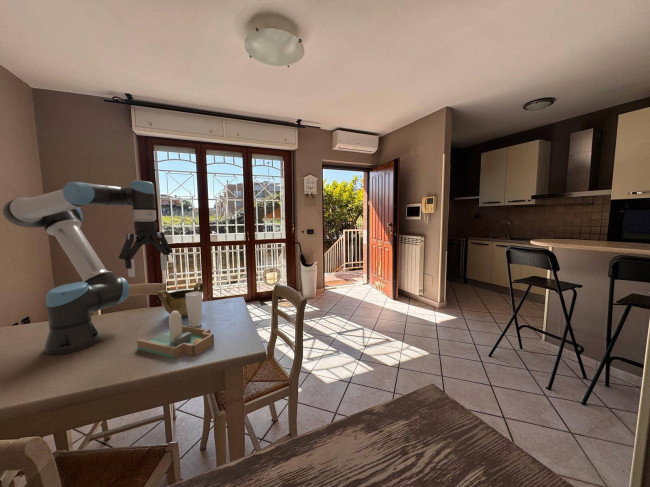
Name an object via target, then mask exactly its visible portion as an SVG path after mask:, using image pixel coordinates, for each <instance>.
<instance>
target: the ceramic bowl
mask: <svg viewBox="0 0 650 487" xmlns="http://www.w3.org/2000/svg"><path fill="white" fill-rule="evenodd" d="M205 287H206V286H205V283H204V282H200V281H198V282H196V283H195V285H194V286H193V289H181V290H175V291H171V292H170V291H166V290H163V289H162V290H159V291H158V292H157V298H159V300H160V301H161V303H162V304H163V306H164V309H165V311H166V312H167V314H169V315H170V314H171V312H173V311H178V312H179V314H181V318H185V317H188V315H187V308H186V300H185V295H186V294H187V293H189V292H202V294H203V292H204V289H205ZM163 294H164V295H163Z"/></svg>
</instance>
